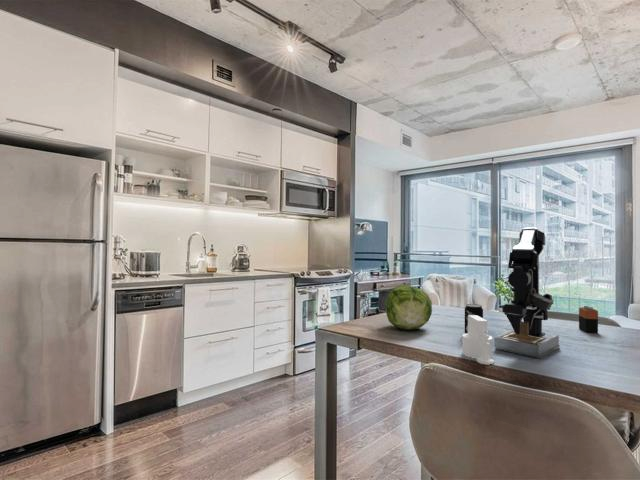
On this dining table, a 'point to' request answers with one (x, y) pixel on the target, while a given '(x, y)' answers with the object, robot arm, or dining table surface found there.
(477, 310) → the beverage can
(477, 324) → the white stepped block
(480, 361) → the chess piece
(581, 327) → the battery
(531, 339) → the box
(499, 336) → the bay
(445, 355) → the dining table surface
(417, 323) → the lettuce
